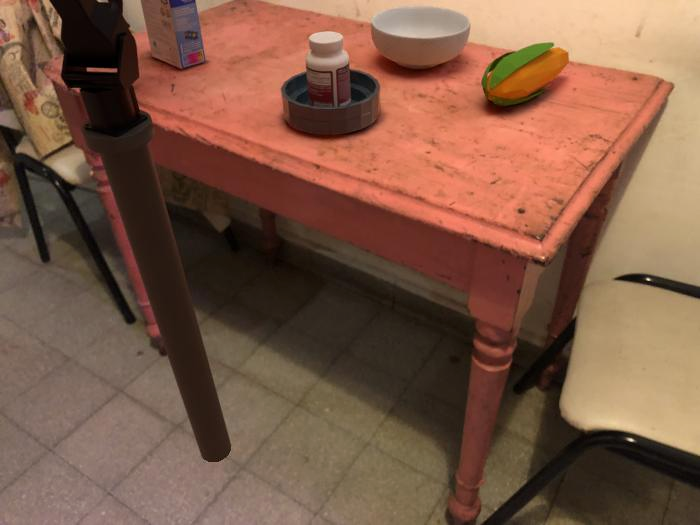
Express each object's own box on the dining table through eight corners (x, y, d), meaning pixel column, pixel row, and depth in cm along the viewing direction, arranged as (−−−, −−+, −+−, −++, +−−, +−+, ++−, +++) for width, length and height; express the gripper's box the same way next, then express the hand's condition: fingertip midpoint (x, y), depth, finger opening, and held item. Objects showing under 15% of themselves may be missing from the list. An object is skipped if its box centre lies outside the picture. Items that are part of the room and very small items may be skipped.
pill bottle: (342, 99, 91) (339, 26, 84) (357, 116, 86) (356, 40, 79) (303, 107, 89) (297, 33, 82) (317, 124, 84) (312, 47, 77)
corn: (471, 55, 84) (551, 21, 94) (463, 104, 89) (539, 67, 99) (514, 73, 80) (592, 35, 90) (503, 123, 85) (578, 82, 95)
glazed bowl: (353, 146, 81) (352, 116, 78) (265, 127, 86) (262, 97, 83) (394, 104, 90) (395, 76, 87) (313, 89, 95) (311, 62, 92)
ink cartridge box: (208, 61, 106) (193, -26, 97) (183, 70, 103) (164, -19, 94) (177, 49, 111) (159, -35, 102) (151, 57, 108) (130, -29, 99)
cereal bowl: (449, 86, 95) (453, 42, 90) (355, 72, 100) (354, 29, 96) (478, 50, 106) (482, 9, 102) (392, 39, 112) (393, -1, 108)
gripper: (116, -128, 89) (142, -17, 99) (12, -109, 76) (54, 17, 86) (174, -126, 85) (195, -10, 95) (75, -105, 72) (111, 26, 82)
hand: (141, 4), depth 89 cm, fingers open, 9 cm apart
